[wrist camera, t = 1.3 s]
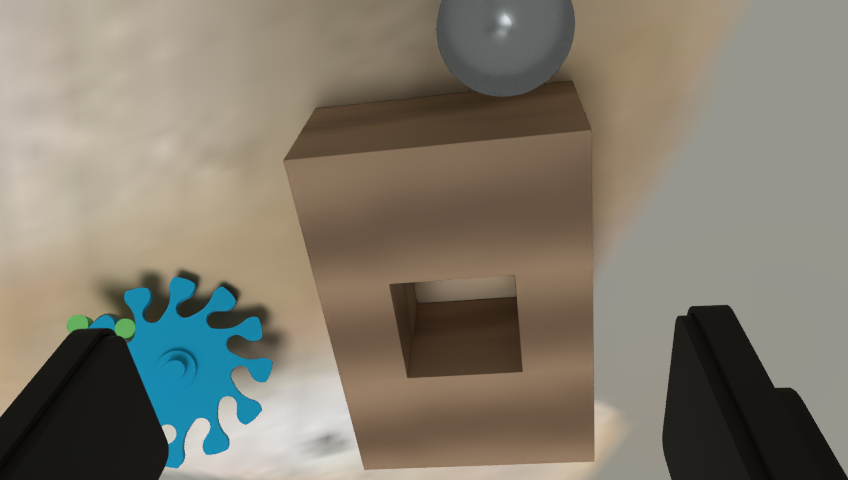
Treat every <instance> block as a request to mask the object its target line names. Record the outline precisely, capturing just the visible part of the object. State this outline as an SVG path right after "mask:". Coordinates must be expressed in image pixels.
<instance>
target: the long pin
mask: <svg viewBox="0 0 848 480" xmlns="http://www.w3.org/2000/svg"><path fill="white" fill-rule="evenodd" d="M574 29H575V18H574V10H573V6H572V2H571V0H441V4H440V8H439V13H438V18H437V28H436V31H437V41H438V47H439V50H440V53H441V56H442V58H443V60H444V62H445V64H446V65H447V67H448V69H449V70H450V71H451V73H452V74H453V75H454V76H455V77H456V78H457V79H458V80H459V81H460V82H461V83H463V84H464V85H466V86H467V87H469V88H471V89H473V90H475V91H477V92H479V93H482V94H486V95H490V96H499V97H506V96H515V95H519V94H523V93H526V92H529V91H531V90H533V89H535V88H537V87H539V86H540V85H542V84H543V83H545V82H546V81H547V80H548V79H550V78H551V77H552V76H553V75H554V74H555V73H556V72H557V70H558V69H559V68H560V67H561V65H562V64H563V62H564V60H565V59H566V57H567V55H568V53H569V50H570V48H571V44H572V41H573V36H574Z"/></svg>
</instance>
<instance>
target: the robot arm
mask: <svg viewBox="0 0 848 480" xmlns="http://www.w3.org/2000/svg"><path fill="white" fill-rule="evenodd" d="M662 437H663V438H662V440H663V451H664V456H665V460H666V462H667V466H668V469H669V473H670V476H671V479H672V480H848V478H847V476H846V474H845V473H844V471H843V469H842V467H841V466H840V464H839V462H838V460H837V459H836V457H835V455H834V454H833V452H832V450H831V448H830V447H829V445H828V443H827V442H826V440H825V438H824V436H823V435H822V433H821V432H820V429H819V428H818V426H817V424H816V423H815V421H814V419H813V418H812V416H811V414H810V412H809V411H808V409H807V407H806V405H805V404H804V402H803V400H802V399H801V397H800V396H799V395H798V393H797V392H796V391H795V390H793V389H792V388H775V387H774V385H773V384H772V382H771V380H770V378H769V376H768V374H767V373H766V371H765V369H764V367H763V365H762V363H761V361H760V360H759V358H758V356H757V354H756V352H755V350H754V349H753V347H752V345H751V343H750V341H749V339H748V338H747V336H746V334H745V332H744V330H743V328H742V327H741V325H740V323H739V321H738V319H737V317H736V316H735V314H734V312H733V310H732V309H731V308H730V306H728V305H714V306H713V305H712V306H692V307H690V308H689V310H688V314H687V316H678V317H677V319H676V323H675V331H674V340H673V348H672V356H671V365H670V374H669V383H668V391H667V400H666V408H665V417H664V425H663V436H662ZM168 456H169V445H168V442H167V439H166V437H165V434H164V432H163V430H162V427H161V425H160V422H159V420H158V418H157V415H156V413H155V410H154V408H153V406H152V403H151V401H150V398H149V396H148V394H147V391H146V389H145V386H144V384H143V381H142V379H141V377H140V374H139V372H138V369H137V367H136V365H135V362H134V360H133V357H132V355H131V353H130V350H129V348H128V345H127V343H126V341H125V339H124V338H123V337H121V336H117V334H116V333H115V331H113V330H112V329H110V328H87V329H76V330H73V331H72V332H71V333H70V334H69V335H68V336H67V337H66V339H65V340H64V341H63V342H62V343H61V345H60V346H59V347H58V348H57V349H56V351H55V352H54V353H53V354H52V356H51V357H50V358H49V359H48V360H47V362H46V363H45V364H44V365H43V366H42V368H41V369H40V370H39V371H38V372H37V374H36V375H35V376H34V377H33V378H32V380H31V381H30V382H29V383H28V384H27V386H26V387H25V388H24V389H23V390H22V392H21V393H20V394H19V395H18V397H17V398H16V399H15V400H14V401H13V403H12V404H11V405H10V406H9V407H8V409H7V410H6V411H5V412H4V413H3V415H2V416H1V417H0V480H158V479H159V477H160V475H161V473H162V471H163V469H164V467H165V466H166V463H167V460H168Z"/></svg>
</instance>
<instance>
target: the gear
mask: <svg viewBox="0 0 848 480" xmlns="http://www.w3.org/2000/svg"><path fill="white" fill-rule="evenodd" d="M169 288H170V302H169V305H168V308H167V310H166V311H165V313H164V314H163V316H162V317H161V319H160V320H159V321H157V322H155V323H149V322H148V321H147V320H146V318H145V312H146V310H147V309H148V307H149V306H150V304H151V303H152V300H153V295H152V292H151V291H150V290H149V289H148V288H136V289H132V290H129V291H126V292H125V295H124V299H125V302H126V304H127V305H128V306H129V307H130V309H131V310H132V312H133V314H134V317H135V321H133V320H130V319H123V318H122V317H120V316H118V315H115V314H104V315H101V316H100V317H98V318H97V319H96V320H95V322H93V320H92V319H91V318H88V317H85V316H82V315H75V316H72V317H71V318H70V319H69V320H68V322H67V329H68V331H69V332H70V333H71V332H72V331H73V330H76V329H87V328H110V329H112V330H113V331H115V333H116V334H117V336H121V337H123V338H124V339H125V341H126V343H127V345H128V348H129V350H130V353H131V355H132V357H133V360H134V362H135V365H136V367H137V369H138V372H139V374H140V377H141V379H142V381H143V384H144V386H145V389H146V391H147V394H148V396H149V398H150V401H151V403H152V406H153V408H154V410H155V413H156V415H157V418H158V420H159V422H160V425H161V426H163V425H165V424H169V425H172V426H173V427H174V428H175V429H176V432H177V435H176V438H175V440H174V441H173V442H172V443H170V444H168V445H169V456H168V460H167V463H166V467H171V468H178V467H179V466H180V465H181V464H182V463H183V461H184V459H185V450H184V442H185V437H186V435H187V432H188V430H189V428H190V427H191V425H192V424H193V422H194V421H195V420H196V419H197V418H205V419H207V420H208V421H209V423H210V425H211V428H210V431H209V433H208V435H207V436H206V438H205V440H204V442H203V450H204V452H205V454H206V455H212V454H217V453H220V452H223V451H225V450H227V449H228V448H229V438H228V436H227V435H226V434H225V433H224V431H223V430H222V428H221V426H220V423H219V419H218V405H219V402H220V400H221V399H222V398H223V397H225V396H231V397H233V398H234V399H235V400H236V402H237V417H238V419H239V421H240V422H241V423H243V424H245V425H246V424H248V423H250V422H251V421H253V420H254V419H255V418H256V417H257V416H258V415H259V413H260V412H261V411H262V408H261V405H260V404H259V403H258V402H257V401H255V400H252V399H249V398H247V397H245V396H244V395H243V394H241V393H240V392H239V390H238V389H237V388H236V386H235V384H234V382H233V381H232V378H231V373H232V371H233V369H234V368H235V367H237V366H245V367H246V368H247V369H248V370H249V372H250V374H251V376H252V377H253V379H255V380H256V381H258V382H266V381H267V379H268V378H269V375H270V373H271V369H272V364H273V362H272V361H271V360H269V359H267V358H260V359H252V360H251V359H244V358H241V357H239V356H237V355H235V354H233V353H232V352H230V351H229V350H228V348H227V342H228V340H229V338H230V337H232V336H234V335H240V336H242V337H244V338H245V339H247V340H249V341H258V340H260V339H261V338H262V327H261V323H260V321H259V318H258V317H250V318H248V319H246V320H245V321H244V322H243V323H241V324H239V325H237V326H235V327H232V328H228V329H213V328H211V327H210V326H209V325H208V317H209V315H210V314H211V313H213V312H216V311H230V310H231V309H233V308H234V307H235V306H236V303H237V302H236V300H235V298H234V297H233V295H232V294H231V293H230V292H229V291H228V290H227V289H225V288H224V287H220V288H218V289H216V290H215V291H214V293H213V295H212V298H211V300H210V301H209V303H208V304H207V305H206V306H205V307H204V308H203V309H202V310H201V311H199V312H198V313H196V314H194V315H192V316H190V317H187V318H183V317H181V316H180V315H179V314H178V307H179V305H180V304H181V303H182V302H183V301H185V300H187V299H189V298H191V297H192V296H193V295H194V294H195V292H196V285H195V284H194V283H193V282H192V281H190V280H187V279H184V278H179V277H174V278H173V279H172V280H171V282H170V287H169Z"/></svg>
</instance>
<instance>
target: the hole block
mask: <svg viewBox="0 0 848 480" xmlns="http://www.w3.org/2000/svg"><path fill="white" fill-rule="evenodd" d="M283 161H284V165H285V169H286V172H287V176H288V180H289V184H290V188H291V192H292V195H293V199H294V203H295V207H296V211H297V214H298V218H299V222H300V226H301V230H302V234H303V237H304V241H305V245H306V249H307V253H308V256H309V260H310V264H311V268H312V272H313V275H314V279H315V283H316V287H317V291H318V295H319V298H320V302H321V306H322V310H323V314H324V317H325V321H326V325H327V329H328V333H329V336H330V340H331V344H332V348H333V352H334V356H335V359H336V363H337V367H338V371H339V375H340V378H341V382H342V386H343V390H344V394H345V398H346V401H347V405H348V409H349V413H350V417H351V420H352V424H353V428H354V432H355V436H356V439H357V443H358V447H359V451H360V455H361V459H362V462H363V466H364V470H371V469H399V468H426V467H454V466H482V465H510V464H537V463H565V462H593V461H594V360H593V359H594V354H593V353H594V351H593V239H592V130H591V127H590V125H589V122H588V120H587V117H586V115H585V112H584V110H583V107H582V104H581V102H580V99H579V97H578V94H577V92H576V89H575V87H574V84H573V81H566V82H557V83H548V84H542V85H540V86H539V87H537V88H535V89H533V90H531V91H529V92H526V93H523V94H519V95H515V96H506V97H499V96H490V95H486V94H482V93H479V92H477V91H474V92H465V93H456V94H447V95H437V96H428V97H419V98H410V99H401V100H391V101H382V102H373V103H364V104H355V105H345V106H336V107H327V108H318V109H315V110H314V111H313V113H312V115H311V116H310V118H309V120H308V121H307V123H306V125H305V126H304V128H303V129H302V131H301V133H300V134H299V136H298V138H297V139H296V141H295V142H294V144H293V146H292V147H291V149H290V151H289V152H288V154H287V155H286V157H285V159H284V160H283ZM507 275H515V283H516V295H517V297H513V298H498V299H483V300H469V301H454V302H439V303H425V304H417V300H416V294H415V288H414V282H424V281H438V280H451V279H465V278H479V277H493V276H507Z"/></svg>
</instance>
